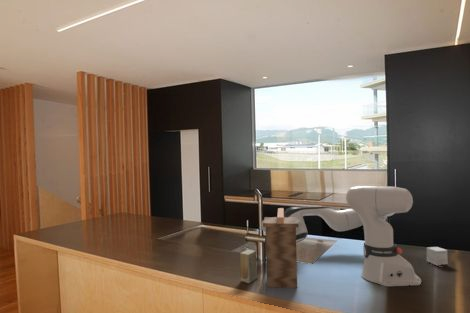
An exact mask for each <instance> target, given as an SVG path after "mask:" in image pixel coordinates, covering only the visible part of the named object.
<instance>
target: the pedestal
mask: <svg viewBox="0 0 470 313" xmlns="http://www.w3.org/2000/svg"><path fill="white" fill-rule="evenodd" d="M262 221H263V227H266V235H265V244H266V245H265V246H266V247H265V250H266V251H265V252H266V259H265V260H266V286H267V288H286V289H287V288H289V289H298V266H297V265H298V261H297V242H296V227H299V226H298V219H297V217H284V224H277V216H274V217H273V216H272V217H270V216H269V217H268V216H265V217H264V219H263V220H262Z"/></svg>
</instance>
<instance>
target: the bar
mask: <svg viewBox="0 0 470 313" xmlns="http://www.w3.org/2000/svg"><path fill="white" fill-rule="evenodd" d="M284 213H285V209H284V207H279V208H277V216H276V217H277V224H284Z"/></svg>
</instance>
